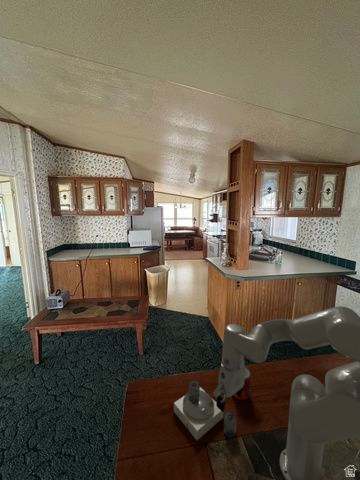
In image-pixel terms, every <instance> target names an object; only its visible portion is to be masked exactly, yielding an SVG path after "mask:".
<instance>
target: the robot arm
mask: <svg viewBox="0 0 360 480" xmlns="http://www.w3.org/2000/svg"><path fill="white" fill-rule="evenodd" d="M250 329H251V330H250V331H249V333H248V334H247V332H246V331H247V330H246V329H245V328H244V327H243V326H241V325H240V324H236V323H229V324H227V325H226V326H225V327H224V330H223V342H222V355H221V365H220V367H219V373H218V379H217V386H216V388H215V389H214V390H213V392H212V394H213V396H214V398H215V399H216V403H217V404H216V406H217V407H218V408H219V409H220V410H221V411H222V412H223V413H224V412H225V408H226V407H225V405H226V402H225V400H226V398H230V397H232V396H233V395H234V394H236V395H237V396H238V397H239V398H241V395H242V387H243V386H244V381H245V375H246V372H245V368H246V367H245V358H246V359H248V360H249V361H250V362H253V363H256V364H261V363H263V362H265V361H266V360H267V357H268V354H269V352H270V347H271V345H272V344H275V343H276V344H277V343H279V342H284V341H291V342H294V343H296V344H297V345H298V346H299V347H300V348H301V349H303V350H312V349H315V348H321V347H326V346H329V345H330V346H331V348H333V349H334V350H335V351H336V352H338V353H339V354H342V355H343V356H345V357H347V358H350V359H351V360H354V361H353V362H350V363H347V364H343V365H341V366H337V367H334V368H332V369H329V370H328V371H327V372H326V374H325V379H324V384H323V383H322V382H321V381H320V379H318V378H316V377H315V376H313V375H311V374H305V373H304V374H300V375H298V376H296V377H295V378H294V380H293V382H292V384H291V388H290V389H291V390H290V400H289V405H288V407H289V408H288V417H289V418H288V426H287V434H286V435H287V437H286V447H285V448H284V449H283V450H282V451H281V453H280V455H279V467H280V471H281V473H282V476H283V477H284V479H285V480H328V479H327V476H326V475H325V468H323V466H322V465H323V456H324V449H325V448H324V447H325V444H327V443H333V442H334V443H335V442H340V441H345V440H350V439H351V440H352V439H358V438H360V315H358V313H357V312H355V311H354V310H353V309H351V308H349V307H347V306H334V307H330V308H326V309H324V310H320V311H317V312H314V313H310V314H306V315H304V316H303V315H302V316H301V317H296V318H292V319H289V318H276V319H271V320H268V321H264V322H261V323H259V324H258V323H257V325H254V326H253V327H252V328H250ZM221 394H223V395H222V396H221Z"/></svg>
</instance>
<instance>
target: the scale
mask: <svg viewBox="0 0 360 480" xmlns="http://www.w3.org/2000/svg"><path fill="white" fill-rule="evenodd" d="M200 390H201V391H204V392H206V391H205V390H204V389H203V388H202V387H201V386H200ZM184 397H185V395H183V396H182V397H180V398H179V399H178V400H176V401H174V402H173V412H174V414H175V415H176V417H178V419H179V420H180V421H181V423H183V425H184V426H185V428H186V429H187V430H188V432H189V433H190V434H191V435H192V437H193V438H194V439H195V440H196V441H199V439H201V438H202V437H203V436H204V435H205V434H206V433H208V432H209V431H210V430H211V429H212V428H213V427H214V426H215V425H217V424H218V423H219V422H220V421H221V420H222V419H224V412H222V411H221V410H220V409H219V408H218V407H217V406H216V404H217V401H215V400H214V399H213V402H214V410H213V413H212V414H211V416H209V417H208V418H206V419H203V420H197V419H193V418H191V417H190V416H188V415H187V414H186V412H185V411H184V408H183V399H184Z"/></svg>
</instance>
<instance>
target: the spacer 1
mask: <svg viewBox="0 0 360 480" xmlns="http://www.w3.org/2000/svg"><path fill="white" fill-rule="evenodd" d="M200 387H201V385H200V383H199V381H197V380H191V381H189V383H188V392H189V401H190V402H192V403H197V402H198V401H199V392H200Z"/></svg>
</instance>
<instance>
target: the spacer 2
mask: <svg viewBox="0 0 360 480" xmlns="http://www.w3.org/2000/svg"><path fill="white" fill-rule="evenodd" d="M236 431H237V415H236V414H235V413H234V412H232V411H227V412H225V413H224V414H223V433H224V435H225V436H226V437H227V438H231V439H232V438H235V436H236V433H237V432H236Z"/></svg>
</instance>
